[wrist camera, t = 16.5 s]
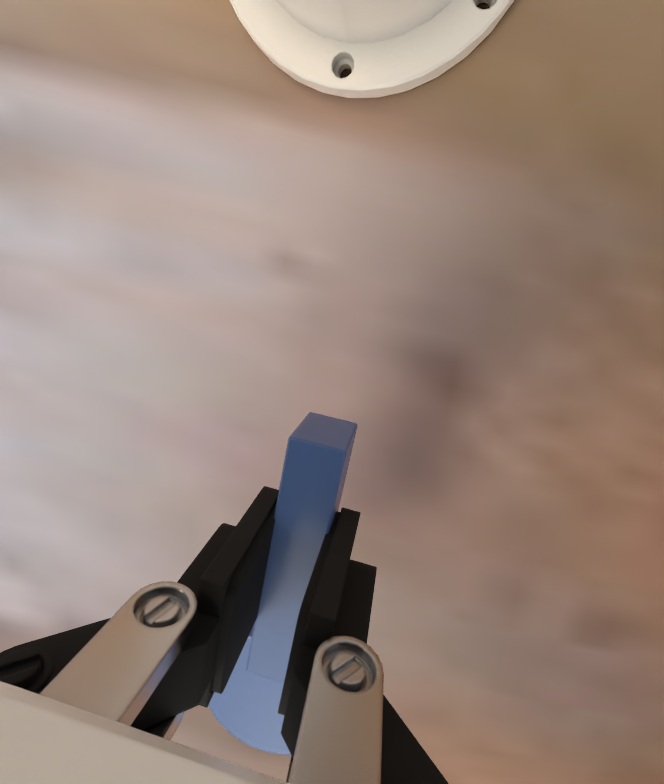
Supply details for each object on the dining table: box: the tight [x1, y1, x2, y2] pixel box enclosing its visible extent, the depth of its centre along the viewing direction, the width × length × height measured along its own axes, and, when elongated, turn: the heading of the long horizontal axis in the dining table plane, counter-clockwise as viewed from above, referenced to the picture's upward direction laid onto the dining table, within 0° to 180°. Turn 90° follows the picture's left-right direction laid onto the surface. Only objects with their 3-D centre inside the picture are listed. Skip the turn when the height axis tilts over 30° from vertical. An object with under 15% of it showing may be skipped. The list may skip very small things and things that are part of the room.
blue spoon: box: [208, 412, 357, 755], centre depth 13 cm, size 11×4×2 cm, turn 169°
